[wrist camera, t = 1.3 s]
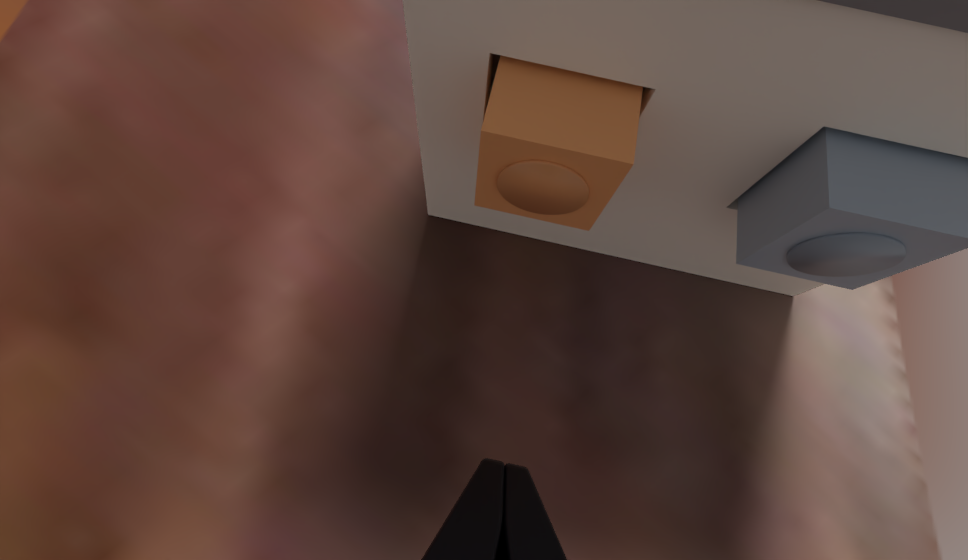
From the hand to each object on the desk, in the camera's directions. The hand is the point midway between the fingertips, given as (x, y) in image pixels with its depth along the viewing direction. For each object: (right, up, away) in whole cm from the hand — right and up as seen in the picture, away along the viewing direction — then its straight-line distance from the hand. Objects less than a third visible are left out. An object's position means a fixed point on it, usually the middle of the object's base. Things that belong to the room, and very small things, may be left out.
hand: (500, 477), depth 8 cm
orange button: (+2, +8, +9) cm, 12 cm away
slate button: (+12, +6, +9) cm, 16 cm away
